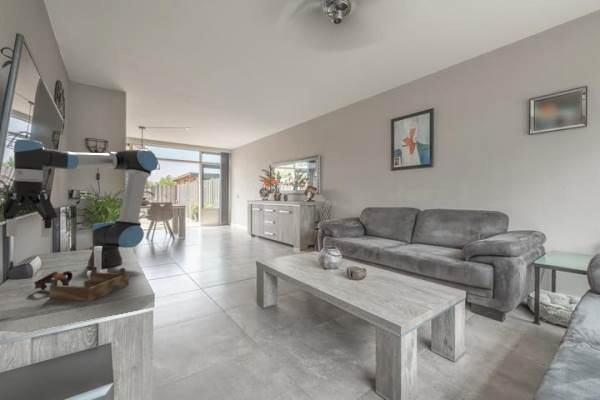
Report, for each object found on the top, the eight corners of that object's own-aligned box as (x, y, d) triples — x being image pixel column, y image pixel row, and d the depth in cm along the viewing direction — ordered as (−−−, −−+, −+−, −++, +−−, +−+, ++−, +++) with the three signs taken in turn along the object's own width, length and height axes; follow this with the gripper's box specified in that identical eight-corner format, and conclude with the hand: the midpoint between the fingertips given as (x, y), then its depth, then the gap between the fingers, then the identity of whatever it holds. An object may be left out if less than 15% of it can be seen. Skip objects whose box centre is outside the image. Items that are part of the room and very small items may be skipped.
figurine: (107, 275, 122) (107, 244, 122) (107, 281, 115) (108, 247, 115) (87, 278, 118) (87, 245, 118) (86, 284, 110) (87, 248, 110)
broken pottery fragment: (56, 296, 98) (41, 278, 96) (38, 304, 100) (24, 287, 98) (84, 278, 110) (71, 262, 108) (67, 286, 111) (55, 271, 110)
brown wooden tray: (92, 282, 112) (93, 266, 112) (128, 284, 111) (128, 268, 111) (49, 298, 94) (50, 279, 94) (91, 300, 93) (91, 281, 93)
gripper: (-15, 179, 96) (-15, 237, 96) (50, 181, 95) (50, 238, 95) (8, 180, 103) (8, 234, 103) (69, 182, 102) (69, 235, 103)
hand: (28, 236), depth 99 cm, fingers open, 13 cm apart
